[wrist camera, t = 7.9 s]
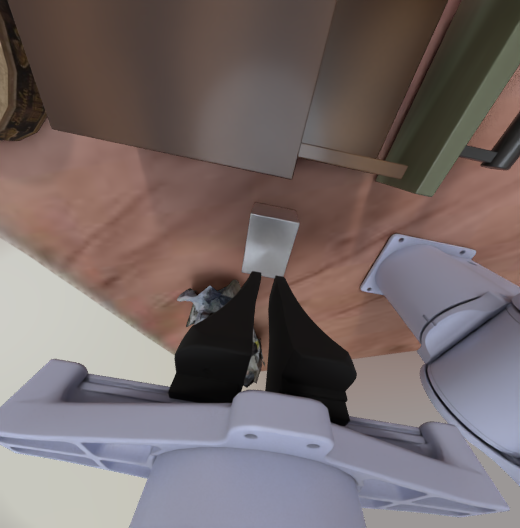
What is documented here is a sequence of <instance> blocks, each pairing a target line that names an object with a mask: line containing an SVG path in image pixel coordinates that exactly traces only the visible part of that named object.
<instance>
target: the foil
mask: <svg viewBox="0 0 520 528" xmlns="http://www.w3.org/2000/svg"><path fill="white" fill-rule="evenodd" d="M240 289H241V287H240V284H239V282H238V281H237V280H233V281H231V283H230V284H229V285H228V286H227V287H224V288H223V289H221V290H218V291H217V290H215V289H214V288H213V287H211V286H209V287H207V288H206V289H205V290H204V291H202V292H201V293H200V294H199V295H198V296H197V295H196V293H195V292H196V291H193V290H192V289H191V288H190V289H188V290H186V291H185V292H183V293H181V294H180V296H179V297H178V298H177V301H180V302H181V301H185V300H187V301H191V302H193V306H192V310H191V313H190V316H189V319H188V322H187V325H186V327H188V326H189V325H192V324H194V325H195V324H197V323H198V322H200V321H202V320H204V319H206V318H207V317H209V316H210V315H212V314H213V313H215V312H216V311H218V310H219V309H220V308H222V307H223V306H224V305H225V304H226V303H228V302H229V301H230V300H231V299H232V298H233V297H234V296H235V295H236V294H237V293H238V291H239V290H240ZM261 349H262V348H261V341H260V339H258V338H257V337H256V334H255V331H254V328H253V347H252V355H251V359H250V363H249V366H248V370H247V374H246V377H245V381H244V385H243V386H245V387H248V386H249V385H251V384H252V383H253V382H255V383H257V380H258V377H259V374H260V371H261V367H262V362H263V361H262V359H263V356H262V350H261ZM263 364H264V365H265V363H264V362H263Z"/></svg>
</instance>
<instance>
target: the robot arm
mask: <svg viewBox="0 0 520 528" xmlns="http://www.w3.org/2000/svg"><path fill="white" fill-rule="evenodd" d="M400 238H402V239H401V240H400V241H399V239H400ZM475 254H476V251H475V250H473V249H470V248H465V247H460V246H456V245H451V244H446V243H441V242H436V241H431V240H426V239H421V238H416V237H411V236H407V235H402V234H393V235H392V236H391V237H390V239H389V240H388V242H387V244H386V245H385V247H384V249H383V250H382V252H381V254H380V255H379V257H378V258H377V260H376V262H375V263H374V265H373V267H372V268H371V270H370V272H369V273H368V275H367V276H366V278H365V280H364V281H363V283H362V285H361V286H360V289H361V290H362V291H365V292H370V293H375V294H380V295H385V297H386V298H387V299H388V301H389V302H390V303H391V305H392V306H393V307H394V309H395V310H396V311H397V313H398V314H399V315H400V317H401V318H402V319H403V321H404V322H405V323H406V325H407V326H408V327H409V329H410V330H411V331H412V333H413V334H414V335H415V337H416V338H417V339H418V341H419V342H420V343H421V347H420V348H419V349H418V350H417V353H418V354H419V355H420V357H421V358H422V360H423V361H424V362H425V364H424V365H423V366H422V367H421V369H420V379H421V382H422V385H423V387H424V390H425V392H426V394H427V395H428V397H429V399H430V401H431V402H432V404H433V405H434V407H435V408H436V410H437V411H438V412H439V413H440V415H441V416H442V417H443V418H444V419H445V420H446V421H447V423H448V424H446V423H440V422H426V423H424V424H422V425H421V426H420V427H419V428H418V427H413V426H406V425H400V424H394V423H388V422H382V421H376V420H370V419H363V418H357V417H351V416H349V414H348V411H347V407H346V403H345V402H346V401H347V396H346V392H345V391H346V390H347V389H348V388H349V387H350V385H351V384H352V383H353V382H354V380H355V379H356V376H357V373H356V370H355V368H354V365H353V362H352V359H351V357H350V355H349V353H348V352H347V351H346V350H345V349H343V348H342V347H341V346H339V345H338V344H337V343H336V342H334V341H333V340H332V339H331V338H330V337H328V336H327V335H326V334H325V333H324V332H323V331H322V330H321V329H320V328H319V327H318V326H317V325H316V324H315V323H314V322H313V321H312V320H311V319H310V317H309V316H308V315H307V314H306V312H305V311H304V310H303V309H302V307H301V306H300V304H299V303H298V301H297V300H296V298H295V296H294V295H293V293H292V291H291V289H290V287H289V285H288V283H287V281H286V279H285V278H284V277H282V276H277V275H276V276H275V279H274V283H273V286H272V290H271V293H270V298H269V308H268V312H269V354H268V367H267V379H266V390H265V391H262V390H246V391H243V392H241V390H242V387H243V385H244V381H245V377H246V374H247V370H248V366H249V363H250V359H251V355H252V347H253V327H254V313H255V303H256V299H257V294H258V290H259V286H260V281H261V272H256V271H252V272H251V274H250V276H249V278H248V280H247V281H246V283H245V284H244V285H243V287H242V288H241V289H240V290H239V291H238V293H237V294H236V295H235V296H234V297H233V298H232V299H231V300H230V301H229V302H228V303H226V304H225V305H224V306H223V307H222V308H220V309H219V310H218V311H216V312H215V313H213V314H212V315H210V316H209V317H207V318H206V319H204V320H202V321H200V322H198V323H197V324H195V325H193V326H192V327H191V328H190V330H189V331H188V332H187V334H186V335H185V336H184V338H183V340H182V341H181V343H180V345H179V347H178V349H177V351H176V353H175V366H176V375H175V377H174V380H173V382H172V384H171V386H170V387H168V386H161V385H155V384H149V383H142V382H136V381H131V380H125V379H119V378H112V377H106V376H100V375H94V374H88V371H87V369H86V367H85V366H84V365H82V364H80V363H76V362H70V361H64V360H58V359H51V360H50V361H49V362H48V363H47V364H46V365H45V366H44V367H43V368H42V369H40V370H39V371H38V372H37V373H36V374H35V375H34V376H33V377H32V378H31V379H30V380H29V381H28V382H27V383H26V384H25V385H23V386H22V387H21V388H20V389H19V390H18V391H17V392H16V393H15V394H14V395H13V396H12V397H11V398H10V399H8V401H6V402H5V403H4V404H3V405H2V406H1V407H0V445H2V446H4V447H5V448H7V449H9V450H11V451H13V452H15V453H18V454H25V455H31V456H38V457H44V458H50V459H55V460H61V461H66V462H71V463H76V464H81V465H85V466H91V467H95V468H100V469H105V470H109V471H114V472H119V473H124V474H129V475H133V476H138V477H142V478H147V479H148V480H147V482H146V485H145V487H144V490H143V493H142V495H141V498H140V500H139V503H138V506H137V508H136V511H135V513H134V516H133V518H132V521H131V524H130V526H129V528H366V524H365V520H364V516H363V511H362V508H372V509H385V510H397V511H408V512H419V513H428V514H437V515H444V516H452V517H467V516H474V515H482V514H490V513H496V512H504V511H509V509H510V508H509V506H508V504H507V503H506V501H505V500H504V498H503V497H502V495H501V494H500V492H499V491H498V489H497V488H496V486H495V485H494V483H493V481H492V480H491V478H490V477H489V476H488V474H487V472H486V471H485V469H484V468H483V466H482V465H481V463H480V462H479V460H478V459H477V457H476V456H475V454H474V453H473V451H472V449H471V448H470V446H469V445H468V443H467V442H466V440H465V439H467V440H468V441H469V442H470V443H472V444H473V445H474V446H476V447H477V448H478V449H479V450H481V451H482V452H483V453H485V454H486V455H487V456H488V457H490V458H491V459H492V460H493V461H494V462H495V463H497V464H498V465H499V466H500V467H501V468H502V469H503V470H504V471H505V472H506V473H507V474H508V475H509V476H510V477H511V478H512V479H513V480H514V481H515V482H516V483H517V484H518V485H519V486H520V287H519V286H517V285H515V284H513V283H512V282H510V281H508V280H506V279H504V278H503V277H501V276H499V275H497V274H496V273H494V272H492V271H490V270H488V269H487V268H485V267H483V266H481V265H480V264H478V263H476V262H474V261H472V260H471V259H472V258H473V256H474V255H475ZM368 288H369V289H368ZM464 438H465V439H464Z"/></svg>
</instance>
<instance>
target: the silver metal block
mask: <svg viewBox="0 0 520 528" xmlns="http://www.w3.org/2000/svg"><path fill="white" fill-rule="evenodd" d="M299 224H300V222H299V219H298V216H297V214H296V211H295V210H291V209H286V208H281V207H276V206H271V205H266V204H262V203H257V202H255V203H254V206H253V209H252V211H251V215H250V221H249V227H248V234H247V240H246V247H245V253H244V259H243V266H242V272H243V273H248V274H251V272H252V271H256V272H261V276H264V277H269V278H275V276H276V275H277V276H282V277H283V276H284V273H285V269H286V266H287V263H288V260H289V257H290V253H291V250H292V247H293V244H294V240H295V237H296V234H297V231H298V228H299Z"/></svg>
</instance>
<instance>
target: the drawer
mask: <svg viewBox="0 0 520 528" xmlns="http://www.w3.org/2000/svg"><path fill="white" fill-rule="evenodd" d="M447 2H448V0H337V4H336V8H335V12H334V16H333V20H332V23H331V27H330V31H329V35H328V39H327V43H326V47H325V51H324V55H323V59H322V63H321V67H320V71H319V75H318V79H317V83H316V87H315V91H314V95H313V99H312V102H311V106H310V110H309V114H308V118H307V122H306V126H305V130H304V134H303V138H302V142H301V146H300V150H299V154H298V158H303V159H308V160H312V161H317V162H322V163H326V164H331V165H335V166H340V167H345V168H349V169H354V170H359V171H363V172H368V173H373V174H377V175H378V176H377V179H376V181H377V182H380V183H383V184H386V185H389V186H393V187H396V188H399V189H402V190H405V191H408V192H411V193H415V194H419V195H424V196H428V197H432V196H433V195H434V193H435V192H436V190H437V189H438V187H439V186H440V184H441V183H442V181H443V180H444V178H445V177H446V175H447V174H448V172H449V171H450V169H451V168H452V166H453V165H454V163H455V162H456V160H457V158H458V157H461V158H465V159H470V160H474V161H478V162H482V164H481V167H485V168H490V169H497V170H509V169H510V168H511V166H512V165H513V164H514V163H515V162H516V160H517V159H518V158H519V157H520V112H519V113H518V114H517V116H516V117H515V118H514V120H513V121H512V123H511V124H510V125H509V127H508V128H507V129H506V131H505V132H504V134H503V135H502V136H501V138H500V139H499V140H498V142H497V143H496V145H495V146H494V147H493V149H492V150H491V151H489V150H485V149H481V148H476V147H472V146H467V143H468V142H469V140H470V139H471V137H472V136H473V134H474V133H475V131H476V130H477V128H478V127H479V125H480V124H481V122H482V121H483V119H484V118H485V116H486V115H487V113H488V111H489V110H490V108H491V107H492V105H493V104H494V102H495V101H496V99H497V98H498V96H499V95H500V93H501V92H502V90H503V89H504V87H505V86H506V84H507V83H508V81H509V80H510V78H511V77H512V75H513V74H514V72H515V71H516V69H517V68H518V66H519V64H520V0H462V1H461V3H460V5H459V7H458V9H457V11H456V13H455V15H454V18H453V20H452V22H451V24H450V26H449V28H448V30H447V32H446V34H445V36H444V38H443V41H442V43H441V45H440V47H439V49H438V51H437V53H436V55H435V57H434V59H433V61H432V64H431V66H430V68H429V70H428V72H427V74H426V76H425V78H424V80H423V82H422V84H421V87H420V89H419V91H418V93H417V95H416V97H415V99H414V101H413V103H412V105H411V107H410V110H409V112H408V114H407V116H406V118H405V120H404V122H403V124H402V126H401V128H400V130H399V133H398V135H397V137H396V139H395V141H394V143H393V145H392V147H391V149H390V151H389V153H388V156H387V158H386V160H385V161H384V160H380V159H376V158H377V156H378V154H379V152H380V150H381V147H382V145H383V143H384V141H385V139H386V136H387V134H388V132H389V130H390V128H391V125H392V123H393V121H394V119H395V117H396V114H397V112H398V110H399V108H400V106H401V103H402V101H403V99H404V97H405V95H406V92H407V90H408V88H409V86H410V84H411V81H412V79H413V77H414V75H415V73H416V70H417V68H418V66H419V64H420V61H421V59H422V57H423V55H424V53H425V50H426V48H427V46H428V44H429V42H430V39H431V37H432V35H433V33H434V31H435V28H436V26H437V24H438V22H439V20H440V17H441V15H442V13H443V11H444V9H445V6H446V4H447Z"/></svg>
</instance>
